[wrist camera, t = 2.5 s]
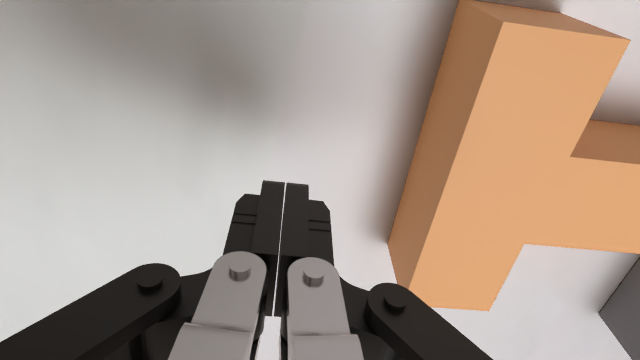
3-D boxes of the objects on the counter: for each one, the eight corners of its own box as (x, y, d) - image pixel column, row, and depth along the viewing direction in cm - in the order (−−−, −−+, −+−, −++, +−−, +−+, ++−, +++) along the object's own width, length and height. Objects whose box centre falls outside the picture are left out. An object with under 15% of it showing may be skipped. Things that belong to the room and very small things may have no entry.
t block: (459, -2, 15) (503, 21, 12) (748, 40, 17) (862, 73, 13) (387, 244, 22) (402, 305, 18) (599, 262, 23) (651, 322, 20)
